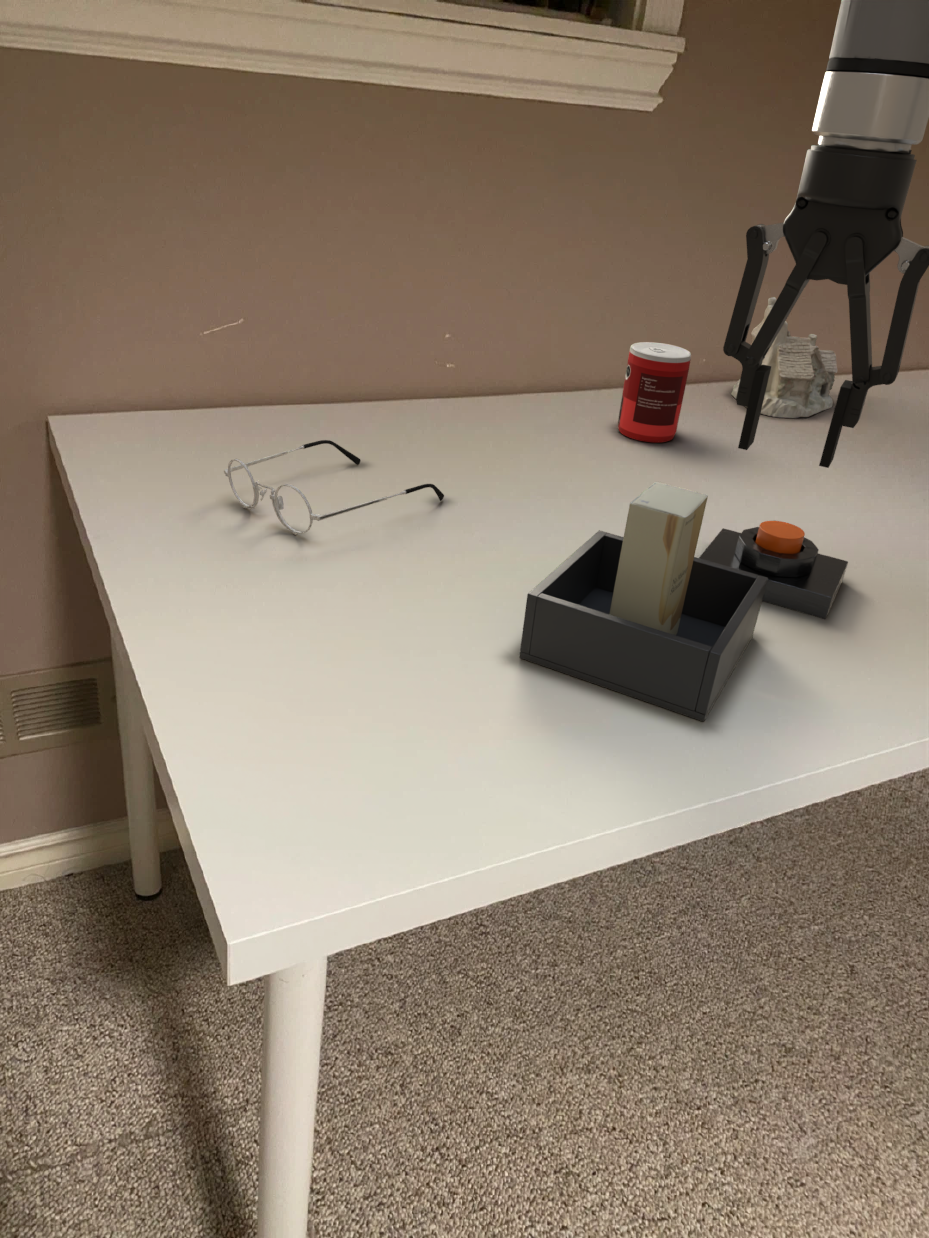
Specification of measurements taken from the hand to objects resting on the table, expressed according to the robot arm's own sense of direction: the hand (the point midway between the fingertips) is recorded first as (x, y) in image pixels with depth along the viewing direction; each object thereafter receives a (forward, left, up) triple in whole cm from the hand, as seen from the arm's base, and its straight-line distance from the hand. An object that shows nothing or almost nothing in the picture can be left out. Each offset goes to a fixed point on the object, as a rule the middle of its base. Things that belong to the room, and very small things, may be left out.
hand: (785, 453), depth 79 cm
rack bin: (+5, +15, -13) cm, 21 cm away
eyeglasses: (+41, +6, -14) cm, 44 cm away
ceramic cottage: (+11, -69, -14) cm, 71 cm away
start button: (-1, -4, -10) cm, 10 cm away
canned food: (+23, -39, -14) cm, 47 cm away
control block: (-1, -4, -13) cm, 14 cm away
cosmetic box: (+5, +15, -13) cm, 21 cm away
